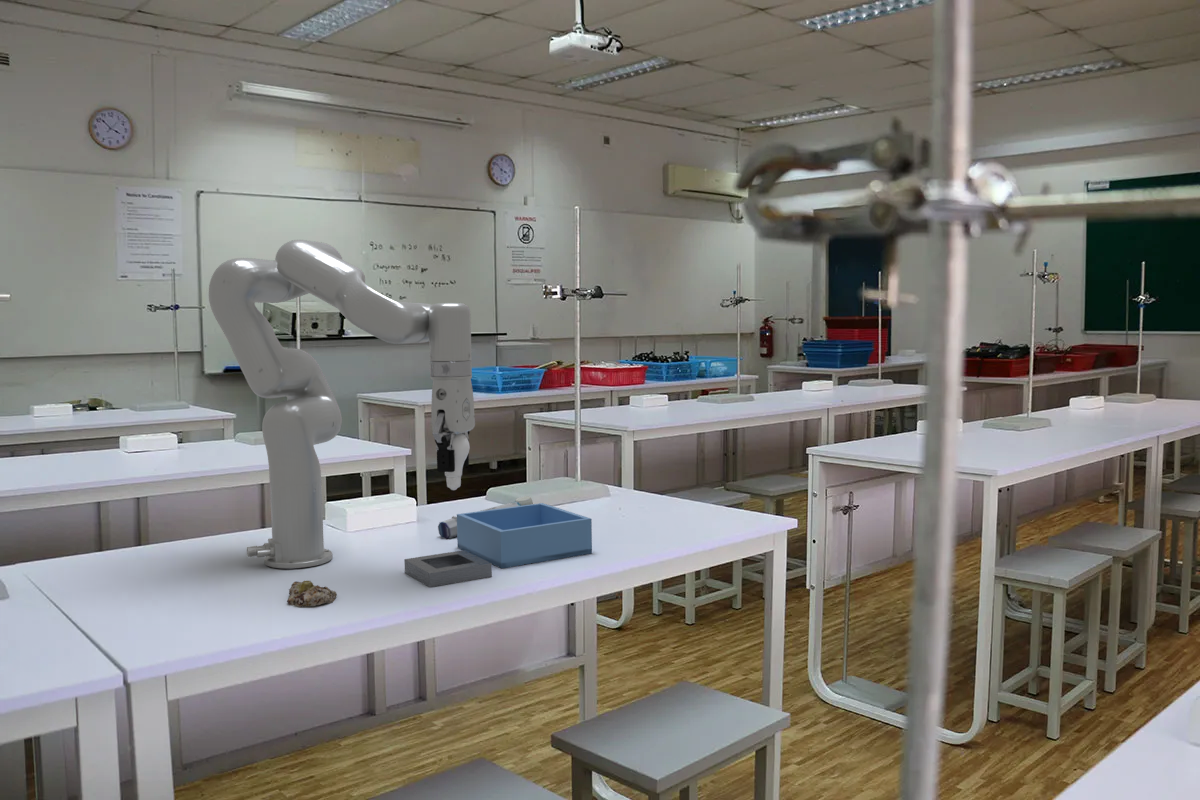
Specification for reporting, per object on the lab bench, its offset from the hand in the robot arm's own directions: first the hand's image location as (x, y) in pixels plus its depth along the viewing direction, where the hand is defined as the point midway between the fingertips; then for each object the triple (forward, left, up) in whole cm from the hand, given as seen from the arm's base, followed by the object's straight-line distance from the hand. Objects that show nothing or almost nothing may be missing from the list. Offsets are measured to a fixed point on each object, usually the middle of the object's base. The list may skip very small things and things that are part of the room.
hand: (453, 467), depth 175 cm
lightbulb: (0, 0, -4) cm, 4 cm away
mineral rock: (-27, -2, -20) cm, 34 cm away
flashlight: (+21, +29, -20) cm, 41 cm away
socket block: (-2, -1, -19) cm, 20 cm away
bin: (+18, +7, -19) cm, 27 cm away
